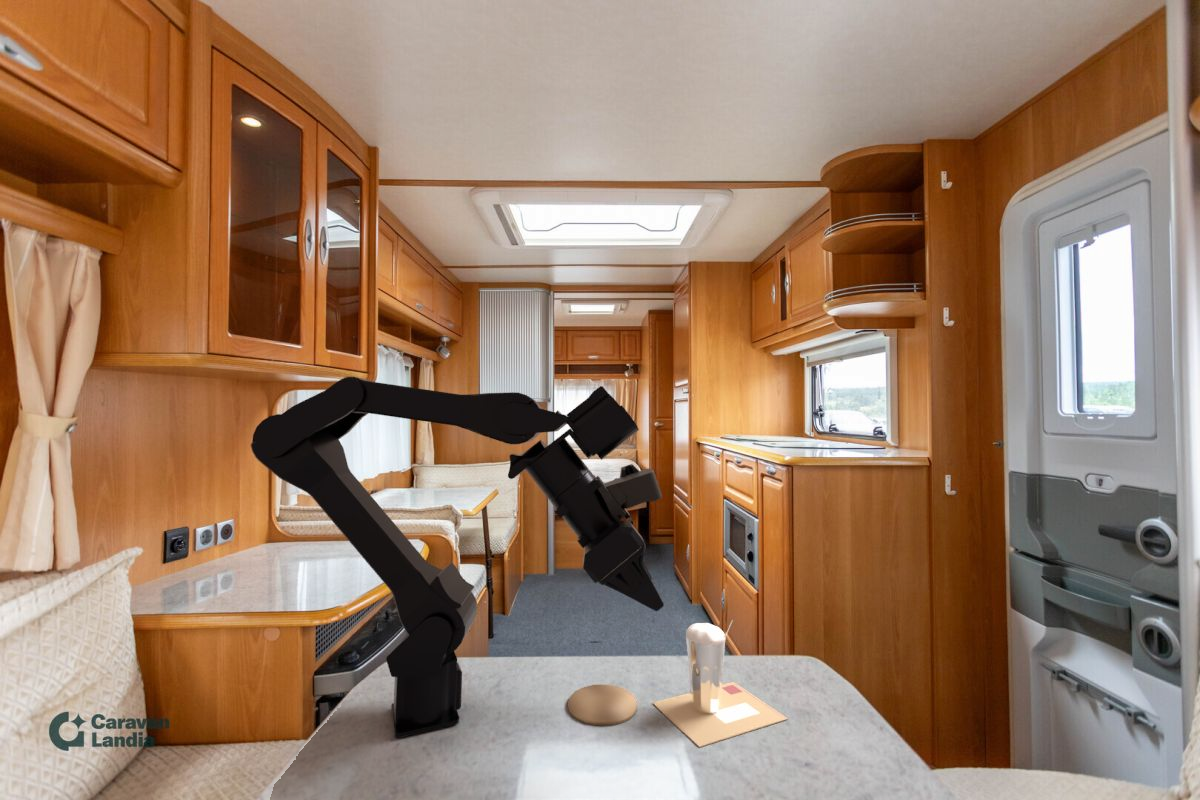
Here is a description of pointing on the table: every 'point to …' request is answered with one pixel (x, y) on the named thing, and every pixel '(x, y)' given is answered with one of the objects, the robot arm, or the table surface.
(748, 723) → the envelope
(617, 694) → the coaster
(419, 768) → the table surface
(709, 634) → the milkshake
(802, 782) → the table surface
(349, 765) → the table surface
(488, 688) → the table surface
